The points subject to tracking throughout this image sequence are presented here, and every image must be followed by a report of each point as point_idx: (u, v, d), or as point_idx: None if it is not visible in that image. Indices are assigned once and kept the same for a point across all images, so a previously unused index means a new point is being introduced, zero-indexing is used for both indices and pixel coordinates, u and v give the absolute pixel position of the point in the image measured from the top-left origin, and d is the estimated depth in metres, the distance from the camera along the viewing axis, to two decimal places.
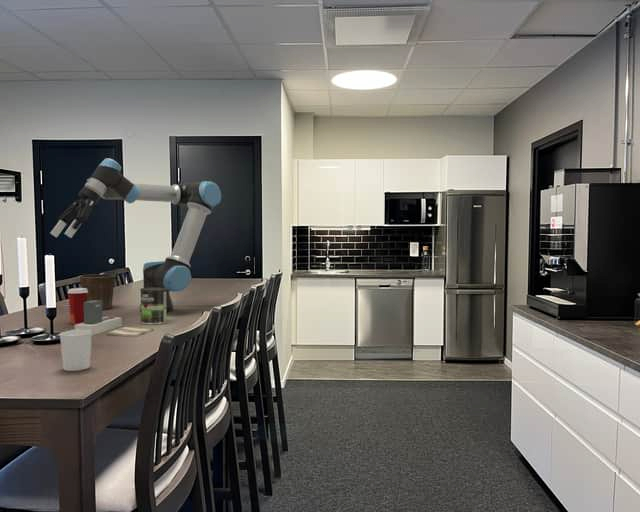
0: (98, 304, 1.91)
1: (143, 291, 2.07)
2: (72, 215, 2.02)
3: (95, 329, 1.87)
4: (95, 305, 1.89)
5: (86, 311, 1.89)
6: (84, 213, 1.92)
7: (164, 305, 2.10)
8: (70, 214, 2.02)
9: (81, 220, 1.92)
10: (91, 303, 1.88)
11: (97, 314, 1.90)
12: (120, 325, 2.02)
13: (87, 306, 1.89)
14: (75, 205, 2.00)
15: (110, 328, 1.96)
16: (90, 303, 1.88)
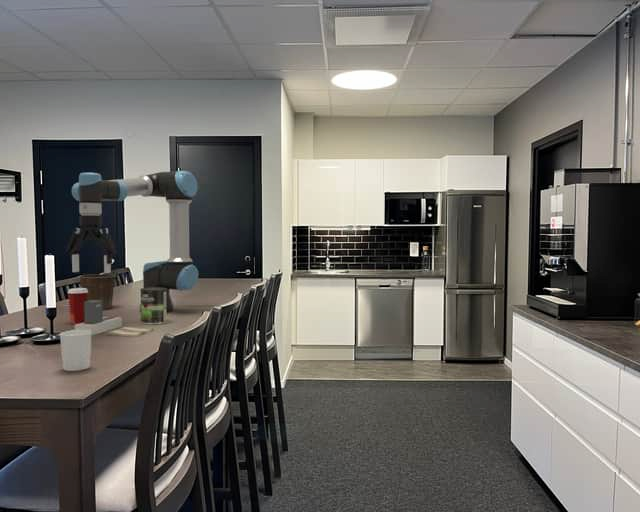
0: (99, 304, 1.91)
1: (143, 291, 2.07)
2: (81, 245, 1.91)
3: (95, 329, 1.87)
4: (96, 304, 1.90)
5: (87, 310, 1.89)
6: (111, 246, 1.87)
7: (164, 305, 2.10)
8: (80, 245, 1.91)
9: (112, 253, 1.88)
10: (92, 303, 1.88)
11: (97, 313, 1.91)
12: (120, 325, 2.02)
13: (88, 306, 1.89)
14: (84, 236, 1.88)
15: (110, 328, 1.96)
16: (91, 303, 1.89)
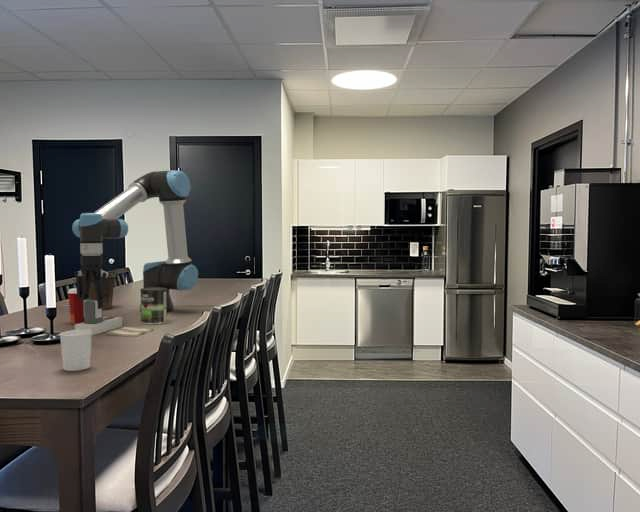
0: None
1: (143, 291, 2.07)
2: (89, 286, 1.92)
3: (95, 329, 1.88)
4: None
5: (87, 310, 1.89)
6: (104, 291, 1.89)
7: (164, 305, 2.10)
8: (87, 287, 1.91)
9: (103, 298, 1.90)
10: (91, 303, 1.89)
11: None
12: (120, 325, 2.02)
13: (88, 306, 1.89)
14: (86, 276, 1.89)
15: (110, 328, 1.96)
16: (90, 303, 1.89)
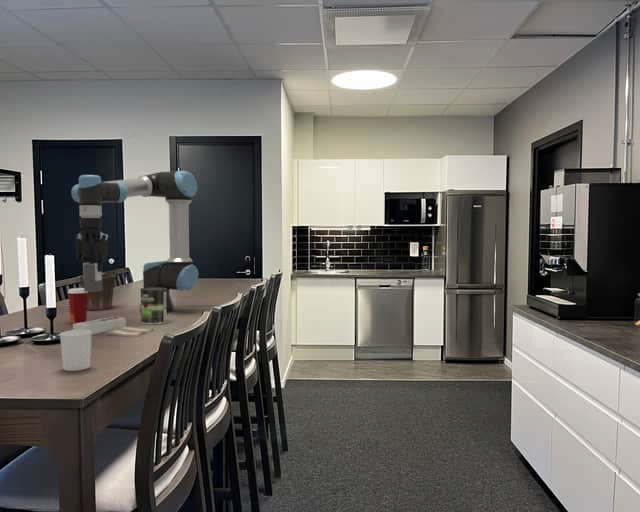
0: None
1: (143, 291, 2.07)
2: (88, 249, 1.91)
3: (91, 329, 1.87)
4: None
5: (86, 273, 1.89)
6: (104, 254, 1.88)
7: (164, 305, 2.10)
8: (87, 250, 1.90)
9: (103, 261, 1.89)
10: (91, 265, 1.88)
11: None
12: (124, 326, 2.00)
13: (87, 268, 1.88)
14: (86, 239, 1.88)
15: (110, 329, 1.95)
16: (90, 265, 1.88)
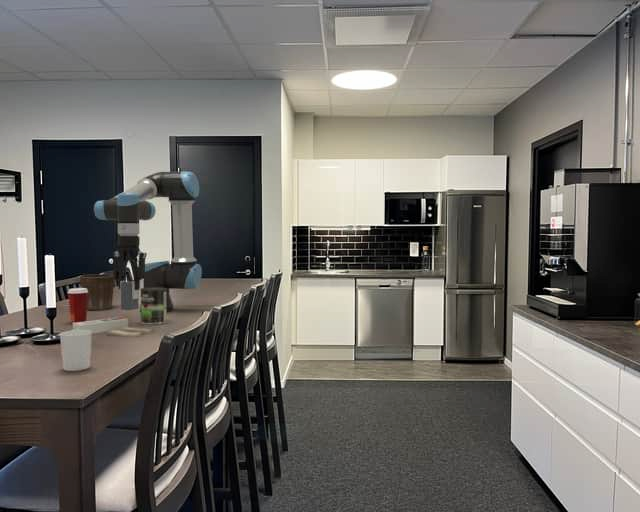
0: None
1: (143, 291, 2.07)
2: (125, 267, 1.90)
3: (86, 329, 1.87)
4: None
5: (123, 291, 1.88)
6: (142, 272, 1.87)
7: (164, 305, 2.10)
8: (124, 268, 1.89)
9: (140, 279, 1.88)
10: (128, 283, 1.87)
11: None
12: None
13: (124, 286, 1.87)
14: (123, 256, 1.88)
15: (109, 329, 1.93)
16: (127, 283, 1.87)
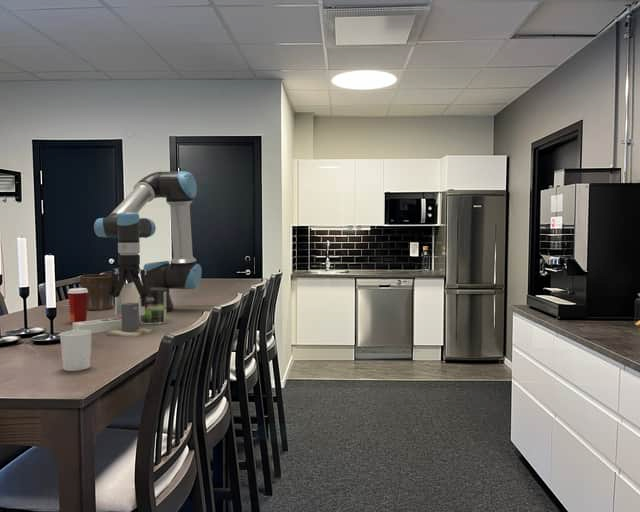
0: (135, 306, 1.90)
1: None
2: (122, 285, 1.91)
3: (85, 329, 1.87)
4: (133, 307, 1.89)
5: (124, 313, 1.88)
6: (147, 288, 1.87)
7: (164, 305, 2.10)
8: (121, 286, 1.90)
9: (147, 296, 1.88)
10: (129, 305, 1.88)
11: (134, 316, 1.90)
12: None
13: (125, 309, 1.88)
14: (123, 276, 1.88)
15: (108, 329, 1.93)
16: (128, 305, 1.88)
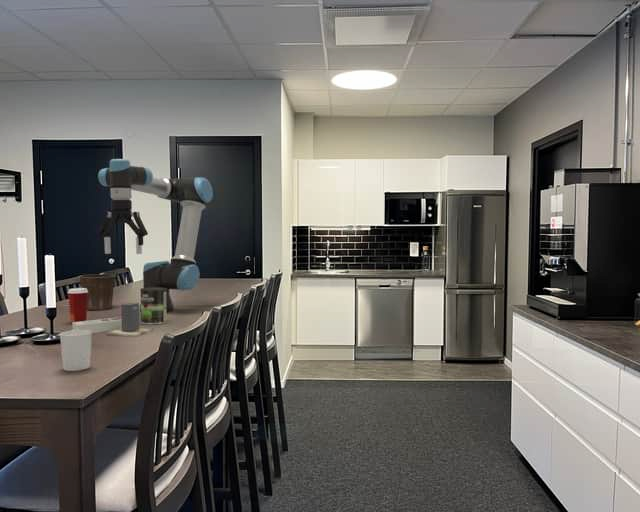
0: (135, 306, 1.90)
1: (143, 291, 2.07)
2: (113, 227, 2.02)
3: (84, 329, 1.88)
4: (133, 307, 1.89)
5: (124, 313, 1.88)
6: (142, 228, 1.98)
7: (164, 305, 2.10)
8: (111, 228, 2.02)
9: (144, 235, 1.99)
10: (129, 305, 1.88)
11: (134, 316, 1.90)
12: None
13: (125, 309, 1.88)
14: (115, 219, 1.99)
15: (108, 329, 1.93)
16: (128, 305, 1.88)
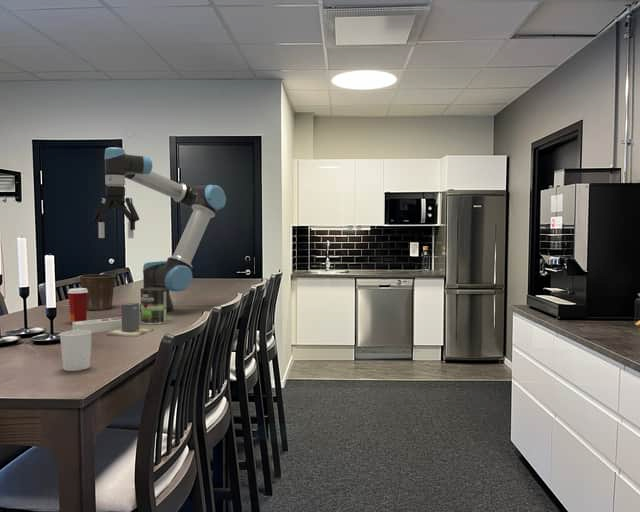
0: (135, 306, 1.90)
1: (143, 291, 2.07)
2: (107, 213, 2.11)
3: (84, 328, 1.88)
4: (133, 307, 1.89)
5: (124, 313, 1.88)
6: (134, 213, 2.07)
7: (164, 305, 2.10)
8: (105, 214, 2.11)
9: (135, 220, 2.08)
10: (129, 305, 1.88)
11: (134, 316, 1.90)
12: None
13: (125, 309, 1.88)
14: (109, 205, 2.09)
15: (107, 329, 1.94)
16: (128, 305, 1.88)
